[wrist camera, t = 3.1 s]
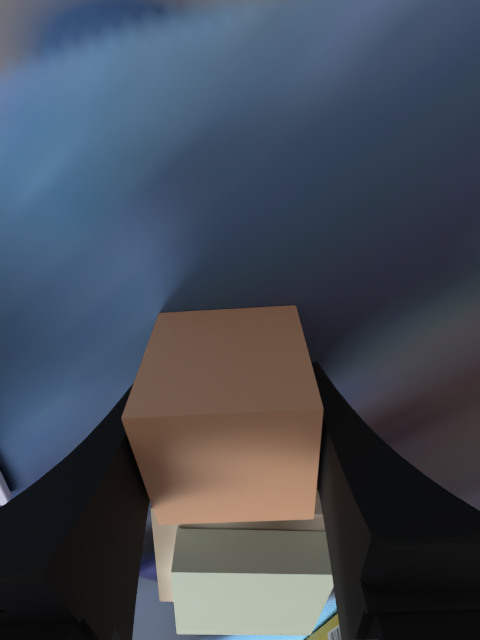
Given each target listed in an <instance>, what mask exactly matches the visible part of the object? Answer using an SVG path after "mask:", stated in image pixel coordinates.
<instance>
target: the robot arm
mask: <svg viewBox="0 0 480 640" xmlns="http://www.w3.org/2000/svg"><path fill="white" fill-rule="evenodd" d="M311 364H312V367H313V371H314V375H315V379H316V382H317V386H318V390H319V394H320V397H321V401H322V405H323V408H324V410H323V421H322V432H321V444H320V455H319V466H318V477H317V488H318V492H319V497H320V502H321V508H322V514H323V520H324V526H325V532H326V538H327V545H328V551H329V557H330V564H331V571H332V578H333V585H334V591H335V598H336V606H337V613H338V620H339V628H340V635H341V640H480V511H479V510H477V509H476V508H474V507H472V506H471V505H469V504H468V503H466V502H464V501H463V500H461V499H460V498H458V497H456V496H455V495H453V494H452V493H450V492H448V491H447V490H445V489H444V488H442V487H441V486H440V485H438V484H437V483H435V482H434V481H432V480H431V479H430V478H428V477H427V476H425V475H424V474H423V473H422V472H420V471H419V470H418V469H417V468H415V467H414V466H413V465H411V464H410V463H409V462H408V461H406V460H405V459H404V458H403V457H401V456H400V455H399V454H398V453H397V452H396V451H394V450H393V449H392V448H391V447H390V446H389V445H388V444H386V443H385V442H384V441H383V440H382V439H381V438H380V437H379V436H378V435H377V434H376V433H375V432H374V431H373V430H372V429H371V428H370V427H369V426H368V425H367V424H366V423H365V422H364V421H363V420H362V419H361V417H360V416H359V415H358V414H357V413H356V412H355V411H354V410H353V409H352V407H351V406H350V405H349V404H348V403H347V401H346V400H345V399H344V398H343V396H342V395H341V394H340V393H339V391H338V390H337V389H336V387H335V386H334V385H333V383H332V382H331V381H330V379H329V378H328V376H327V375H326V373H325V372H324V370H323V369H322V367H321V366H320V364H318V363H317V362H316V363H311ZM133 384H134V383H133ZM133 384H132V386H131V387H130V388H129V389H128V391H127V392H126V393H125V394H124V396H123V397H122V398H121V399H120V401H119V402H118V403H117V404H116V405H115V407H114V408H113V409H112V410H111V411H110V412H109V414H108V415H107V416H106V417H105V418H104V419H103V420H102V421H101V423H100V424H99V425H98V426H97V427H96V428H95V429H94V430H93V431H92V432H91V433H90V434H89V435H88V437H87V438H86V439H85V440H84V441H83V442H82V443H80V444H79V445H78V446H77V447H76V448H75V449H74V450H73V451H72V452H71V453H70V454H69V455H68V456H67V457H65V458H64V459H63V460H62V461H61V462H60V463H58V464H57V465H56V466H55V467H54V468H52V469H51V470H50V471H49V472H47V473H46V474H45V475H44V476H43V477H41V478H40V479H39V480H38V481H36V482H35V483H34V484H32V485H31V486H30V487H28V488H27V489H26V490H24V491H23V492H22V493H20V494H19V495H17V496H16V497H15V498H13V499H12V500H10V498H11V497H12V496H11V493H10V490H9V488H8V486H7V484H6V482H5V480H4V478H3V475H2V473H1V471H0V505H3V506H2V507H0V640H132V634H133V624H134V614H135V604H136V595H137V586H138V578H139V570H140V562H141V555H142V547H143V540H144V533H145V527H146V520H147V514H148V507H149V503H150V499H149V496H148V493H147V490H146V487H145V485H144V482H143V479H142V476H141V473H140V470H139V468H138V465H137V462H136V459H135V456H134V453H133V451H132V448H131V445H130V442H129V439H128V436H127V434H126V431H125V428H124V425H123V422H122V419H121V417H122V415H123V412H124V409H125V406H126V403H127V401H128V398H129V395H130V392H131V389H132V387H133ZM9 500H10V501H9Z"/></svg>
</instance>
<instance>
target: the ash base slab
mask: <svg viewBox="0 0 480 640" xmlns="http://www.w3.org/2000/svg"><path fill="white" fill-rule="evenodd" d="M151 517H152V527H153V538H154V548H155V558H156V568H157V578H158V588H159V598H160V601H172V602H174V598H173V588H172V577H171V569H172V562H173V554H174V547H175V539H176V532H177V528H182V529H229V530H276V531H323V532H325V526H324V520H323V514H322V508H321V502H320V497H319V492H318V490H316V500H315V511H314V519H306V520H279V521H253V522H226V523H200V524H173V525H159V524H158V522H157V519H156V516H155V513H154V510H153V507H152V505H151ZM333 587H334V586H333ZM332 589H333V588H332ZM331 591H332V590H331ZM330 593H331V592H330Z"/></svg>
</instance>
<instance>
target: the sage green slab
mask: <svg viewBox="0 0 480 640" xmlns="http://www.w3.org/2000/svg"><path fill="white" fill-rule="evenodd" d="M171 577H172V588H173V598H174V609H175V620H176V629H177V634H218V635H311V633H312V631H313V629H314V627H315V625H316V623H317V620H318V618H319V616H320V614H321V612H322V610H323V608H324V605H325V603H326V601H327V599H328V597H329V595H330V592H331V590H332V588H333V586H334V585H333V578H332V571H331V564H330V557H329V551H328V545H327V538H326V532H323V531H276V530H229V529H182V528H177V532H176V539H175V547H174V554H173V562H172V569H171Z"/></svg>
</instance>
